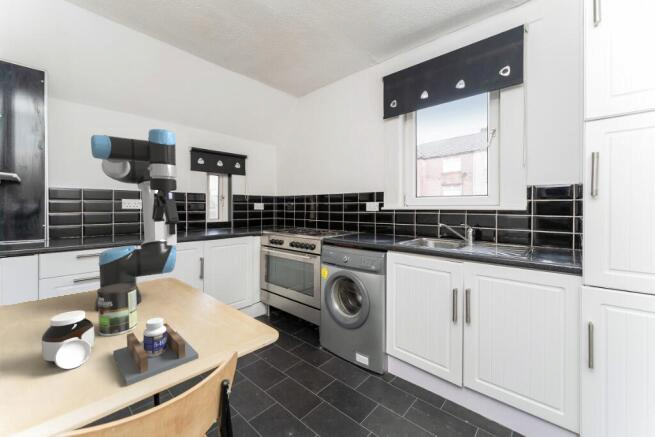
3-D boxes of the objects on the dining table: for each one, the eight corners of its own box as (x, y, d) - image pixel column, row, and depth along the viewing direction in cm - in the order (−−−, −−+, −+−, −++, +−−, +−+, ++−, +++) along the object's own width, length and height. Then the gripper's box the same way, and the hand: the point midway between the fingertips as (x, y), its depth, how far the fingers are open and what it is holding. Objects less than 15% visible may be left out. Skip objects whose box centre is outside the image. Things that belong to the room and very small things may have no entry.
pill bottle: (155, 358, 72) (154, 325, 72) (139, 356, 73) (137, 323, 73) (171, 348, 77) (170, 317, 77) (155, 346, 78) (154, 315, 78)
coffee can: (112, 338, 85) (110, 294, 84) (91, 333, 88) (89, 290, 87) (145, 324, 94) (143, 284, 93) (124, 320, 98) (123, 281, 97)
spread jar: (76, 346, 80) (74, 307, 79) (111, 349, 79) (109, 309, 78) (27, 372, 68) (24, 326, 67) (68, 375, 67) (65, 329, 66)
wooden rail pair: (127, 348, 77) (126, 334, 77) (166, 335, 84) (166, 323, 84) (140, 373, 66) (140, 357, 66) (185, 356, 73) (184, 342, 73)
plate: (113, 355, 76) (113, 350, 76) (176, 335, 87) (176, 331, 87) (126, 386, 63) (126, 381, 63) (198, 358, 75) (198, 353, 75)
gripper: (140, 179, 96) (142, 239, 98) (161, 175, 79) (163, 248, 80) (164, 180, 102) (166, 237, 103) (189, 177, 84) (190, 245, 86)
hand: (165, 242), depth 92 cm, fingers open, 13 cm apart
